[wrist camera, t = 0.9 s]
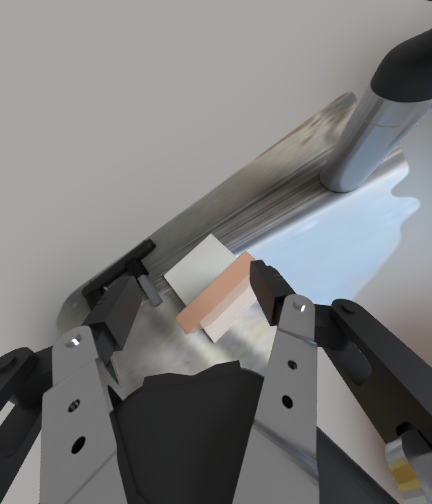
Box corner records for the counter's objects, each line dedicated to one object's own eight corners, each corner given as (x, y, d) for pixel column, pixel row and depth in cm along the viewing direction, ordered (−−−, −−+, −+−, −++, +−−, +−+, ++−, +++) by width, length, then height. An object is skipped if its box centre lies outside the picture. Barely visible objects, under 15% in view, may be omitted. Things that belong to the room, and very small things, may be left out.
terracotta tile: (244, 274, 33) (244, 250, 20) (253, 282, 32) (259, 263, 19) (202, 314, 32) (174, 316, 19) (210, 325, 31) (186, 334, 18)
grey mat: (211, 234, 39) (210, 233, 38) (268, 288, 32) (268, 287, 31) (164, 276, 37) (163, 275, 36) (215, 342, 30) (214, 343, 29)
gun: (180, 283, 33) (144, 233, 38) (102, 348, 31) (74, 286, 36) (185, 285, 36) (151, 238, 42) (114, 344, 34) (87, 287, 39)
